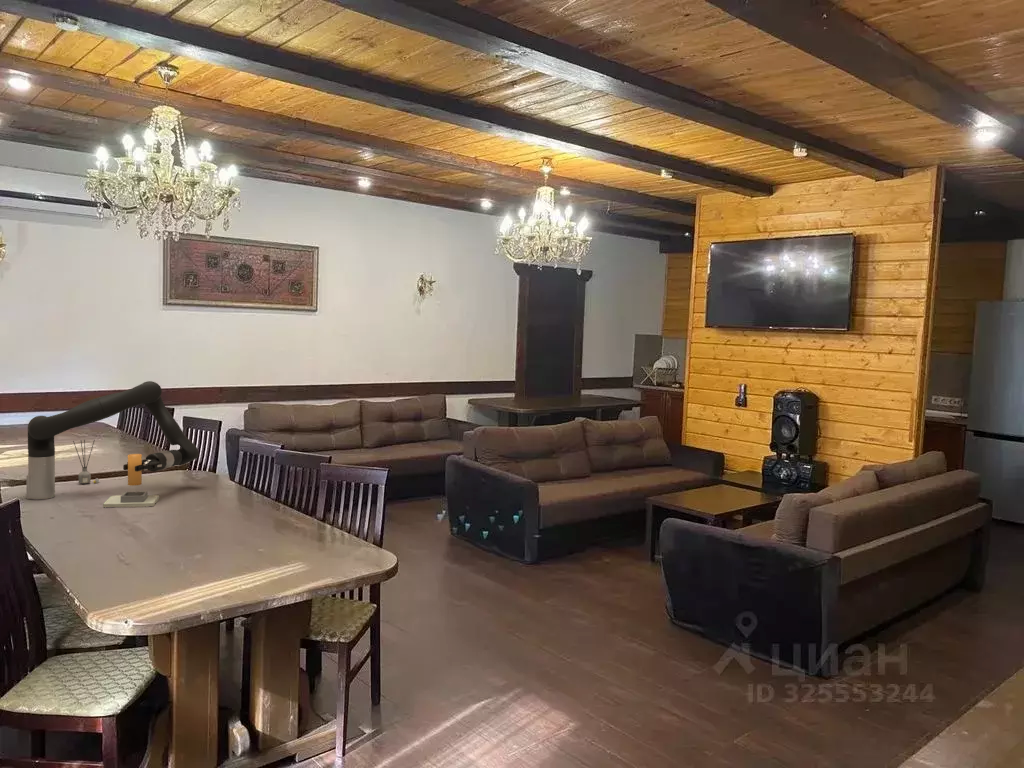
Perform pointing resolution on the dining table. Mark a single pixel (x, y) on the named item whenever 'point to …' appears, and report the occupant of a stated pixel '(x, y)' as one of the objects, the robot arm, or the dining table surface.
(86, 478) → the reed diffuser
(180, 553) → the dining table surface
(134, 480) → the orange cylinder
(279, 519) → the dining table surface
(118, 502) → the cream slab
